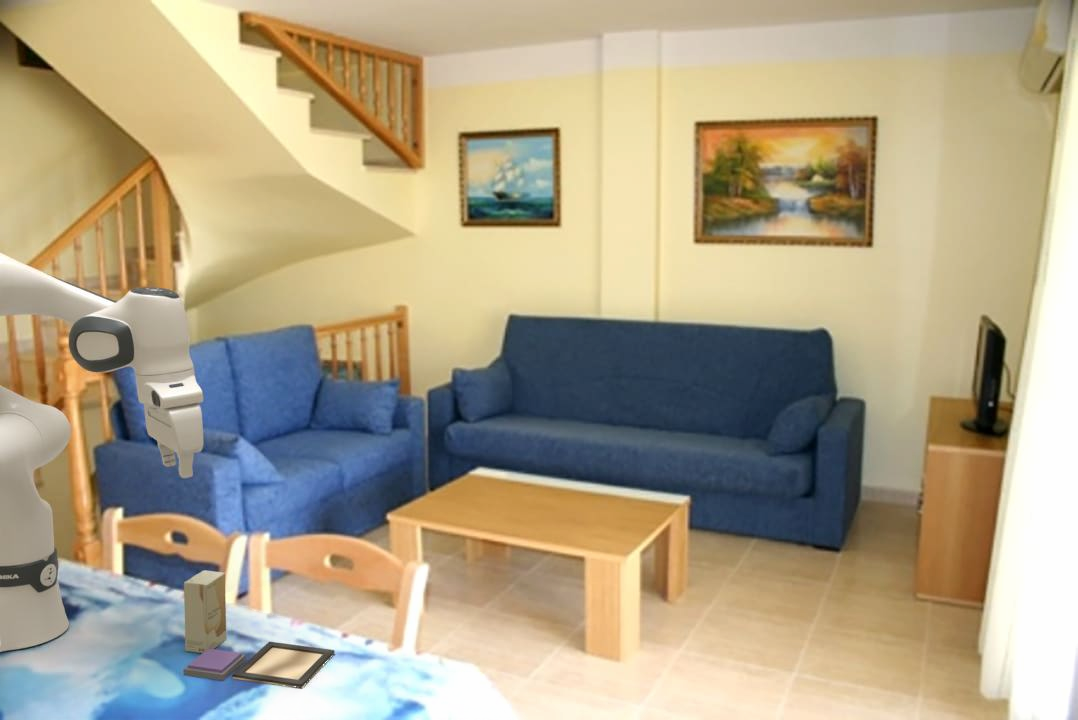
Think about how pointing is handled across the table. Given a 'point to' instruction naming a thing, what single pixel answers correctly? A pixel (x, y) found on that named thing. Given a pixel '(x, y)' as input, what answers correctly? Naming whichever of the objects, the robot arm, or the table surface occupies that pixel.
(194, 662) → the pad
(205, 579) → the skincare box
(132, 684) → the table surface
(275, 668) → the framed board
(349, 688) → the table surface
